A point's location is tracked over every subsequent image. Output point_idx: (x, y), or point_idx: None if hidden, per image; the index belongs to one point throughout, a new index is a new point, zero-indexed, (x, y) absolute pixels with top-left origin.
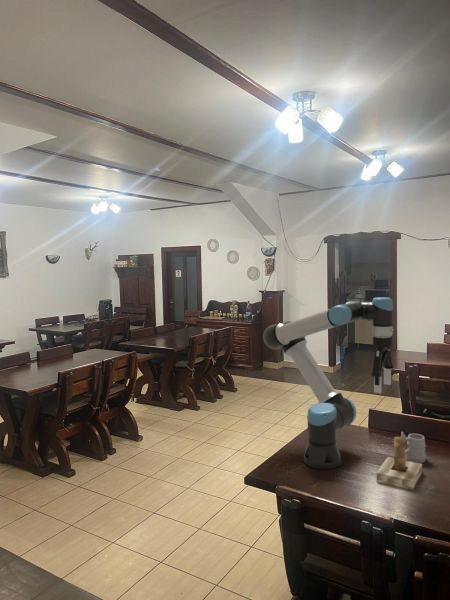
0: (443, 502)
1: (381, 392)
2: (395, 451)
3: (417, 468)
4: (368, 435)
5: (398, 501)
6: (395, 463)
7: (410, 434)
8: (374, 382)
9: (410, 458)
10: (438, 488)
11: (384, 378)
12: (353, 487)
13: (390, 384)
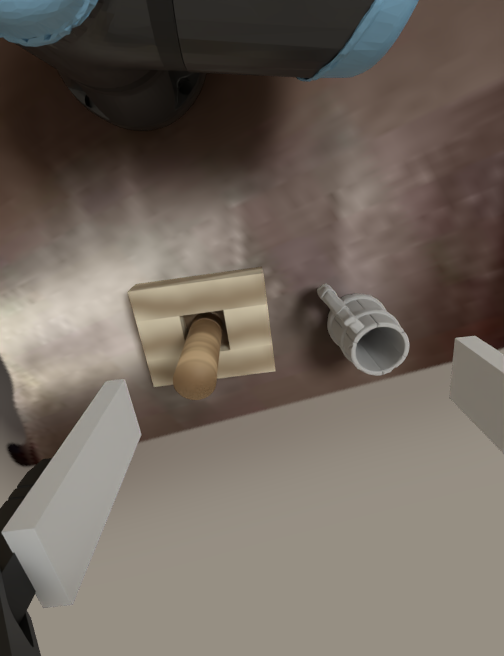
0: (154, 436)
1: (138, 437)
2: (182, 350)
3: (236, 371)
4: (496, 83)
5: (81, 366)
6: (188, 333)
7: (389, 327)
8: (57, 459)
9: (329, 314)
10: (211, 412)
11: (495, 377)
12: (52, 246)
13: (453, 400)
